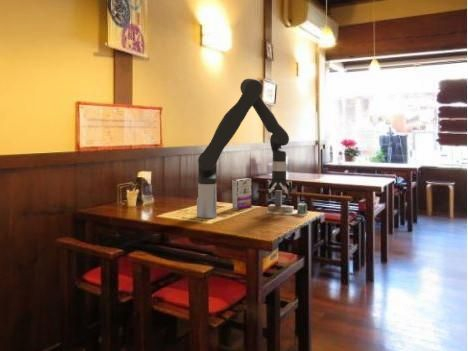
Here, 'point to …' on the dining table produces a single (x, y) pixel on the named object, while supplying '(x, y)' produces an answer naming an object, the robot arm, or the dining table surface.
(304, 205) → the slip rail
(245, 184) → the candy bar box
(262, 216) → the dining table surface
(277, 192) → the gray t-shaped block
